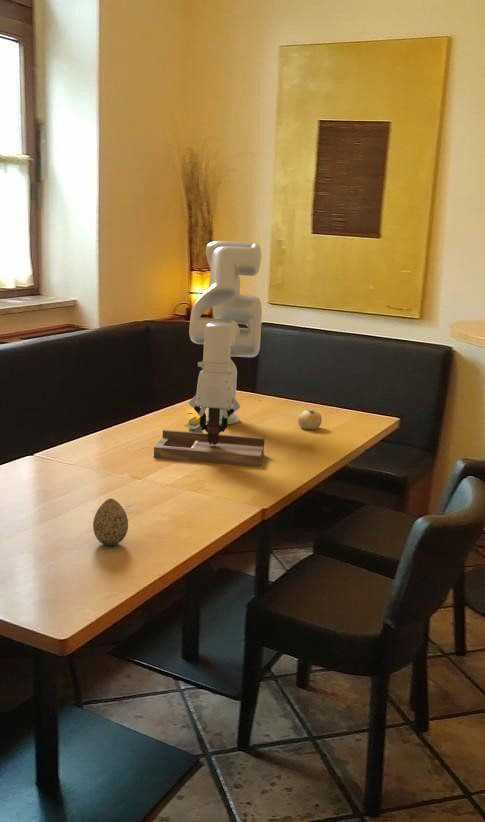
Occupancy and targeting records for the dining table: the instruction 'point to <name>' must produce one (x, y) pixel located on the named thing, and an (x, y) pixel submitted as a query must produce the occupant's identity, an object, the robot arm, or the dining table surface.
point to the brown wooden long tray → (210, 448)
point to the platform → (194, 425)
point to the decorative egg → (110, 523)
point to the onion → (309, 419)
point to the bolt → (213, 426)
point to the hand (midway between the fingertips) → (213, 429)
